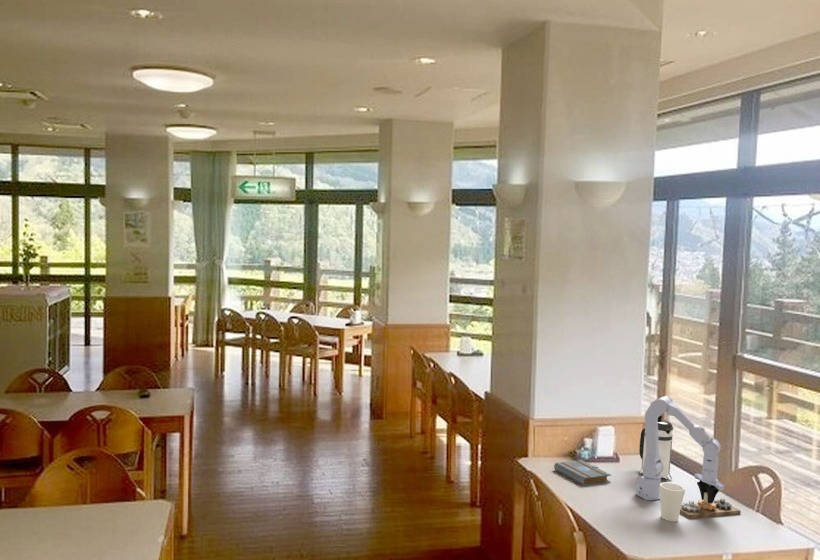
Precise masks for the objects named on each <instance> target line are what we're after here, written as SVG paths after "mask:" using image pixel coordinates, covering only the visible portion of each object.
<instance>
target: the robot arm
mask: <svg viewBox="0 0 820 560" xmlns="http://www.w3.org/2000/svg"><path fill="white" fill-rule="evenodd" d="M665 413H666V414H665ZM664 414H665V415H666V416H671V417H674V418H675V419H677V421H679V422H680V423H681V424H682V425H683V426H684V427H685V428H686V429H687V430H688V431H689V434H688V435H689V436H690V437H691V438H692V439H693V440H695V442H696V443H697V444H698V445H699V446H700V447H701V448H702V452H703V459H702V471H701V473H694V479H695V480H699V481H697V482H696V484H697V486H698V489H699V493H700V498H701V500H704V493H705V492H707V493H708V503H713V501H714V500H716V497H717V495H718V493H719V491H724V490H725V485H723V484H722V483H720V481H719V479H718V469H719V452H720V451H721V448H722V446H721V443H720V442H719V440H718V439H715V438H714V437H713V436H711V435H710V434H709V433H708V432H707V431H706V428H705V427H704V426H701V425H698V424H695V423H694V421H693V420H691V418H690V417H689V416H688V415H687V414H686V413H685V412H684V411H683V409H681V407H680V406H679V405H678V403H677V402H676V401H674V400H673V399H672V398H671V396H670V397H669V396H667V395H665V396H664V395H663V396H661V397H660V398H657V399H655V400H654V401H652V402H650V404H649V406H648V408H647V409H646V411H645V413H644V427H645V432H646V457H645V460H644V466H643V469H641V471H642V470H643V471H642V474H643V475H641V476H640V477H639V476H638V478H637V480H636V488H635V489H636V490H635V492H634V494H635V495H636V496H638V497H640V498H641V499H643V500H644V501H653V500H654V501H655V500H657V501H658V500H660V491H659V486H660V484H661V483H662V478H661V475H660V473H661V472H662V471H663V464H662V462H661V457H660V455H659V445H658V417H659V416H660V415H662V416H663V415H664Z"/></svg>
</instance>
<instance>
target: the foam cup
mask: <svg viewBox="0 0 820 560" xmlns="http://www.w3.org/2000/svg"><path fill="white" fill-rule="evenodd" d="M659 491H660V499H659V503H660V516H661V519H663V520H664V519H665V521H667V520H668V522H678V520H679V517H680V509H681V505H682V504H683V501H684V496H685V493H686V492H685V491H686V488H685V486H682V484H681V485H680V484H679V483H673V482H661V484H660V486H659Z"/></svg>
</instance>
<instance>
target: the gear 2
mask: <svg viewBox="0 0 820 560" xmlns="http://www.w3.org/2000/svg"><path fill="white" fill-rule="evenodd" d="M713 502H714V503H715V504H716V508H717V507H718V508H719V509H725V510H727V509H729V510H730V509H731V506H732V503H731V502H728V501H726V499H724V498H720V499H717V500H716V499H714V501H713Z"/></svg>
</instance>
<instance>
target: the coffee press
mask: <svg viewBox="0 0 820 560" xmlns="http://www.w3.org/2000/svg"><path fill="white" fill-rule="evenodd" d="M674 429H675V428H674V426H673V423H671V422H670V421H669V420H667V419H663V414H662V415H660V416H659V417H658V445H659V455H660V457H661V462H662V464H663V471H662V472H661V473H660V475H661V479H663V478H666V479H667V480H668V479H671V480H672V477H673V476H672V475H671V459H672V457H671V456H672V445H673V430H674ZM639 456H640V459H641V469H640V470H641V471H642V473H641V471H638V474H639V475H642V474H643V470H642V469H643V466H644V460H645V457H646V432H645V428H642V430H641V432H640V438H639Z"/></svg>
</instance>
